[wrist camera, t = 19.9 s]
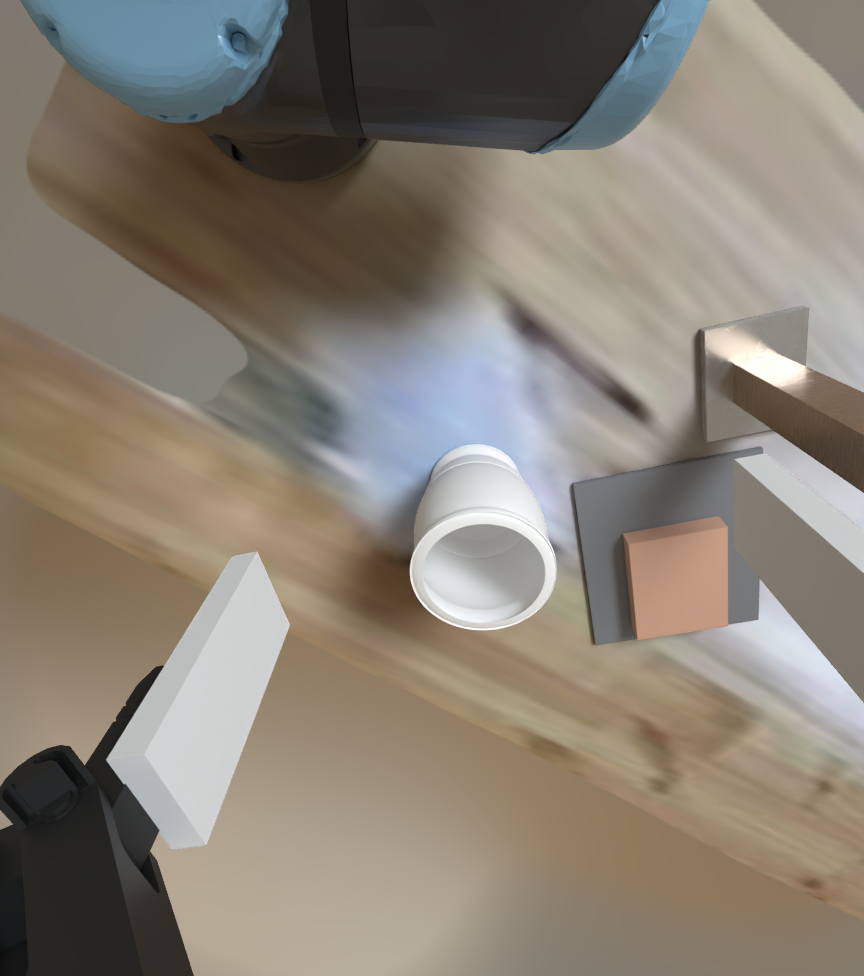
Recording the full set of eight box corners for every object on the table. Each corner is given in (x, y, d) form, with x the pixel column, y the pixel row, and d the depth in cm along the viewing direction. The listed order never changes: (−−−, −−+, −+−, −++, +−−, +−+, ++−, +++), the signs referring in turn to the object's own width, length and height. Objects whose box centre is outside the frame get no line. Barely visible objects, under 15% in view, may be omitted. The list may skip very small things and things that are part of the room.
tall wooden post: (700, 328, 46) (845, 399, 29) (802, 305, 45) (1013, 365, 28) (702, 438, 51) (830, 555, 34) (795, 419, 50) (975, 530, 33)
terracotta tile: (628, 544, 53) (637, 640, 58) (727, 526, 52) (727, 626, 57) (622, 532, 55) (631, 626, 60) (717, 515, 53) (718, 612, 59)
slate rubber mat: (572, 483, 53) (573, 485, 52) (760, 446, 51) (763, 448, 50) (594, 641, 62) (595, 645, 61) (755, 616, 59) (758, 619, 59)
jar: (407, 514, 55) (394, 613, 42) (436, 419, 50) (431, 495, 37) (510, 540, 56) (529, 645, 43) (547, 449, 51) (581, 534, 38)
